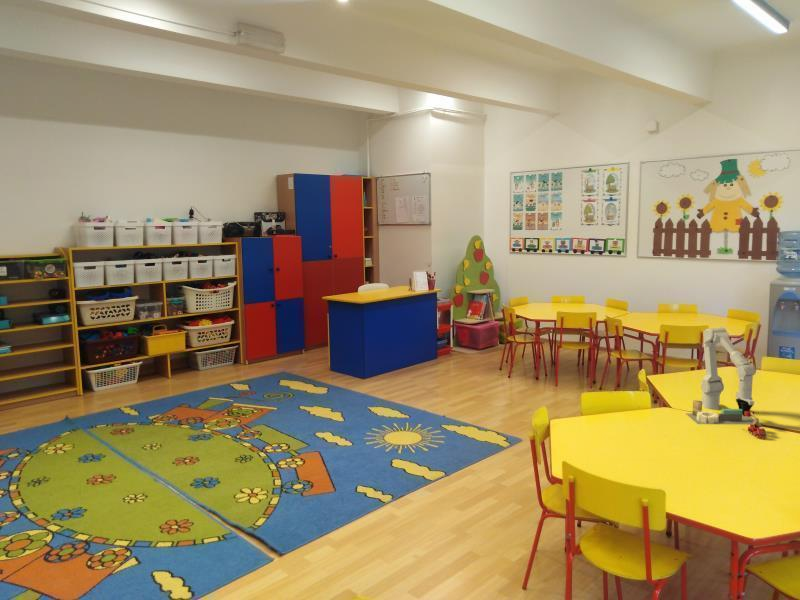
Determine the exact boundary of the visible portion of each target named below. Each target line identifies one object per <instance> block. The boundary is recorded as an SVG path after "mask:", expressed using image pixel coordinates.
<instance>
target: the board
mask: <svg viewBox="0 0 800 600" xmlns="http://www.w3.org/2000/svg"><path fill="white" fill-rule="evenodd" d="M692 413H693V412H691V413H689V412H687V413H685V415H686V416H687V417H688V418H690V419H691V420H692V421H693V422H694V423H696V424H697V425H751V424H752V423H753V421H754V418H753V417H752V416H751V417H747V416H743V414H722V413H720V412H718V413H715V412H714V411H707V410H706V411H705V410H704V411H703V410H702V411H701V412H697V416H694V415H693V414H692ZM757 425H758V427H759V428H760V427H762V428H763V425H762V423H761V422H759V423H758V424H757ZM754 427H755V426H754Z"/></svg>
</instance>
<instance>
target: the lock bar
mask: <svg viewBox="0 0 800 600" xmlns="http://www.w3.org/2000/svg"><path fill="white" fill-rule="evenodd" d="M721 413H722V414H743V413H742V409H739V408H721Z"/></svg>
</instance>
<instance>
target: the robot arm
mask: <svg viewBox="0 0 800 600" xmlns="http://www.w3.org/2000/svg"><path fill="white" fill-rule="evenodd" d="M702 333H703V334H702V336H703V351H704V352H703V353H704V365H705V376H704V377H703V378H701V387H700V388H701V391H702V395H701V401H702V407H704V409H706V410H716V411H717V410H719V409H720V397H721V394H722V392H723V391H724V389H725V385H724V383H723V379H722V377H721V376H720V375H718V363H717V361H718V360H717V350H716V349H717V347H716V345H718V343H719V344H720V345H722V347H723V348H724V349H725V350H726V351H727V352H728V354H729V359H730V361H731V362H732V364H733V365H734V366H735V367H736V373H737V376H738V377H737V378H738V391H737V392H736V393H735V398H736V399H735V402H736V404H737V406H738V409H742V413H743V416H746V415H744V411H751V409H752V407H754V405H755V401H754V399H753V397H752V394H753V382H754V381H753V379H754V378H753V376H754V375H756V373H757V368H756V366H755V364H753V363H751V362H749V361H748V360H747V358H746V357H745V356H744V354H743V353H742V352H741V351H737V349H736V347H735V345H734V344H733V343H732V341H731V340H730V336H729V334H730V333H729V332H728V330H727V329H726V328H725V327H723V326H722V327H715V328H706V329H705V330H704V331H702Z"/></svg>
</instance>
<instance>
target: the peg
mask: <svg viewBox="0 0 800 600" xmlns="http://www.w3.org/2000/svg"><path fill="white" fill-rule="evenodd" d="M701 411H703V405H702V400H697V399H694V400H693V401H692V412H691V413H692V414H693V415H694V416H697V412H701Z"/></svg>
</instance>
